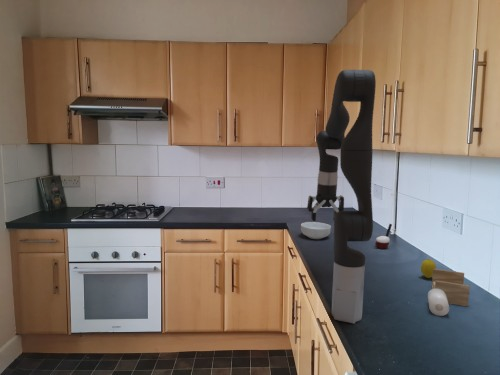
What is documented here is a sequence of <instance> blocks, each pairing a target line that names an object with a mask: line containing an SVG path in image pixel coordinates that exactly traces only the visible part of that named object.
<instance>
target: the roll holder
mask: <svg viewBox="0 0 500 375" xmlns="http://www.w3.org/2000/svg"><path fill="white" fill-rule="evenodd" d="M431 278H432V279H431V281H432V282H431V290H432V289H441V290H442V291H444V292H445V294H446V297H447V300H448V304H450V305H456V306H463V307H468V306H469V300H470V299H469V297H470V288H471V286H470V284H465V283H464V280H465V272H461V271H460V272H459V271H453V270H448V269H447V270H446V269H439V268H436V269H433V277H431Z"/></svg>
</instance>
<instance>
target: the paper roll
mask: <svg viewBox="0 0 500 375" xmlns="http://www.w3.org/2000/svg"><path fill="white" fill-rule="evenodd" d="M427 299H428V300H427V301H428V307H429V308H428V309H429V310H430V312H431V313H432V314H433V315H435V316H439V317H443V316H446V315H447V314H448V313H449V311H450V305H449V304H450V303H448V300H447V297H446V294H445V292H444V291H442V290H441V289H432V288H431V289H430V290H429V291H428V293H427Z"/></svg>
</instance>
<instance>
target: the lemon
mask: <svg viewBox="0 0 500 375" xmlns="http://www.w3.org/2000/svg"><path fill="white" fill-rule="evenodd" d="M433 269H437V265H436V263H435V261H434V260H431V259H430V258H428V259H424V260H422V263H421V264H420V272H421V274H422V276H424V277H425V278H426V279H430V278H433Z"/></svg>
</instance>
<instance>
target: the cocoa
mask: <svg viewBox="0 0 500 375" xmlns="http://www.w3.org/2000/svg"><path fill="white" fill-rule="evenodd" d="M388 224H389V225H388V227H387V231H386V233H385V235H380V236H377V237H376V239H375V243H374V244H375V247H376V248H378V249H381V250H387V249H388V247H389V245H390V241H391V240H390V239H391V238H390V237H389V235H390V233H391V228H392V226H393V224H392V223H388Z"/></svg>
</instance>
